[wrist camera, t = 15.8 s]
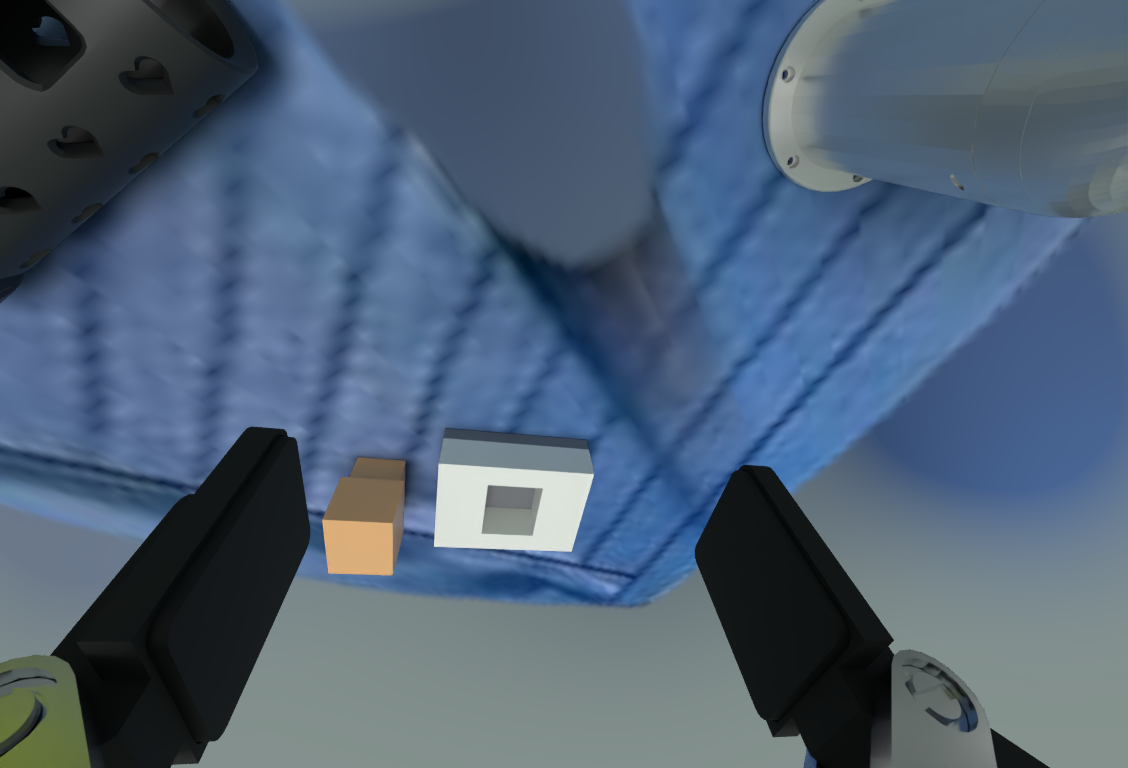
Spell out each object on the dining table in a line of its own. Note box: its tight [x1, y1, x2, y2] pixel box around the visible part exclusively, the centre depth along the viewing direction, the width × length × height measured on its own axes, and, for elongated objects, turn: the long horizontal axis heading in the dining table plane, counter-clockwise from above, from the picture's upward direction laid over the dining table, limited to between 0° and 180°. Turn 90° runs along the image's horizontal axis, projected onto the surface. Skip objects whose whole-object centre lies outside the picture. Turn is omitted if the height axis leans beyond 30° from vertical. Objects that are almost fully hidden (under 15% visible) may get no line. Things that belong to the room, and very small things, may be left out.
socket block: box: [434, 428, 594, 552], centre depth 45 cm, size 14×11×5 cm
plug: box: [322, 457, 405, 575], centre depth 43 cm, size 6×7×8 cm
